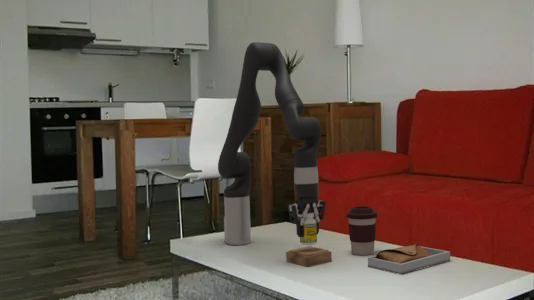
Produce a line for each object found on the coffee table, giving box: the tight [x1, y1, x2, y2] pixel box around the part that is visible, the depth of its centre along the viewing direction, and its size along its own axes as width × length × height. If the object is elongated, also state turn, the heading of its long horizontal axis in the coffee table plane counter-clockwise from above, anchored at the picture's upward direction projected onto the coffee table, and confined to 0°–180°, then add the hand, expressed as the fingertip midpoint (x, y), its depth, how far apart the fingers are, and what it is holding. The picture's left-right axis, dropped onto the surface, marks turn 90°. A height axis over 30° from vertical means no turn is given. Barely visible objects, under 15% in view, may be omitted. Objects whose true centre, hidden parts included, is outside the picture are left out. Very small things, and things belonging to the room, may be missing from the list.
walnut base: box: [285, 245, 333, 268], centre depth 187 cm, size 10×10×4 cm
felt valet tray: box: [367, 245, 451, 275], centre depth 180 cm, size 13×23×3 cm, turn 128°
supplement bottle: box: [299, 213, 318, 246], centre depth 187 cm, size 5×5×10 cm
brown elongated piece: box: [375, 243, 432, 264], centre depth 180 cm, size 18×7×7 cm
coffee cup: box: [346, 205, 378, 256], centre depth 196 cm, size 10×10×15 cm
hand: (308, 235), depth 187 cm, fingers closed on supplement bottle, 5 cm apart
